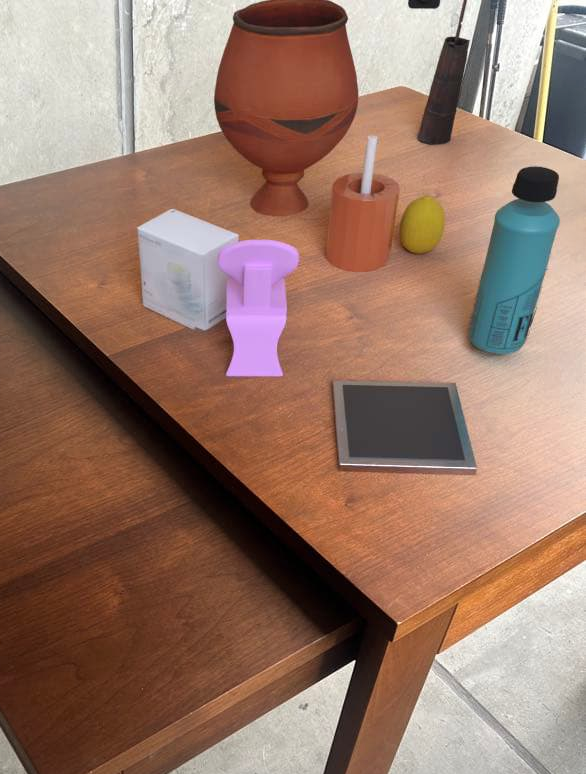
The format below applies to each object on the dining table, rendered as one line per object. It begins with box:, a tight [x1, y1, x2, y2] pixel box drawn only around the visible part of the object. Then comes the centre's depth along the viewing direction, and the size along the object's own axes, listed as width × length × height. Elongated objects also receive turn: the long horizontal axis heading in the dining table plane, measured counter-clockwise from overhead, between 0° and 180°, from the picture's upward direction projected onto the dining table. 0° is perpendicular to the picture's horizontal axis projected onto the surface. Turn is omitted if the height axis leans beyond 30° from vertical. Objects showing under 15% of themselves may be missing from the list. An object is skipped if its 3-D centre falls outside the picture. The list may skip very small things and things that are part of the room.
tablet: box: [331, 379, 478, 476], centre depth 88 cm, size 13×14×1 cm
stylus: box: [360, 134, 378, 194], centre depth 107 cm, size 1×1×15 cm
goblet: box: [213, 0, 359, 218], centre depth 116 cm, size 19×19×25 cm
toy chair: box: [218, 239, 300, 377], centre depth 93 cm, size 8×9×15 cm
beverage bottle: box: [467, 165, 561, 355], centre depth 91 cm, size 6×7×20 cm
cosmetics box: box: [136, 208, 240, 331], centre depth 101 cm, size 10×6×10 cm, turn 47°
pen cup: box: [325, 172, 401, 273], centre depth 109 cm, size 8×8×10 cm
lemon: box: [399, 194, 446, 255], centre depth 111 cm, size 6×6×8 cm
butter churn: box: [417, 0, 471, 145], centre depth 130 cm, size 9×10×28 cm
